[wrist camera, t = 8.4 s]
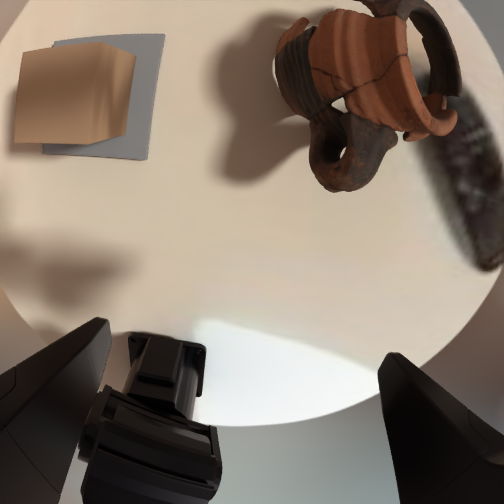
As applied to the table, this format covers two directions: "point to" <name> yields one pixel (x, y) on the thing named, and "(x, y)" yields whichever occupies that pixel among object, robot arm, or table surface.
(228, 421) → the table surface
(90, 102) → the walnut block
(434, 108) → the pottery mug
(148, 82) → the felt coaster
